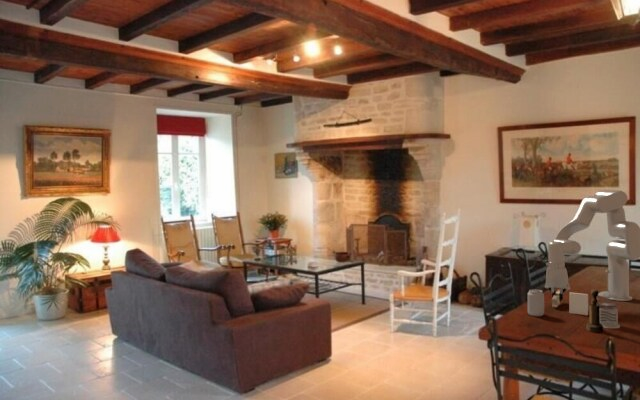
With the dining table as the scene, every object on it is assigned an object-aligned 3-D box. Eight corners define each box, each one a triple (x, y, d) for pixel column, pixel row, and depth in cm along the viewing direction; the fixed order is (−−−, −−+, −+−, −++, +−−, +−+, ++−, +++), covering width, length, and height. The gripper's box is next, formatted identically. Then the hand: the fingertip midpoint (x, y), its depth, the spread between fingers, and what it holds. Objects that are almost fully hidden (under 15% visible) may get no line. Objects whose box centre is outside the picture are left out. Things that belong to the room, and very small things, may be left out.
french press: (620, 329, 221) (620, 272, 220) (590, 326, 227) (590, 270, 226) (620, 323, 229) (620, 269, 228) (591, 320, 236) (591, 267, 234)
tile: (570, 312, 250) (569, 292, 250) (588, 314, 246) (588, 294, 245) (569, 313, 249) (569, 292, 248) (587, 315, 244) (587, 294, 244)
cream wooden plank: (558, 297, 271) (558, 289, 270) (563, 297, 269) (562, 290, 269) (552, 306, 258) (551, 298, 257) (557, 307, 256) (556, 299, 256)
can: (545, 317, 243) (545, 292, 242) (529, 316, 244) (529, 292, 244) (542, 312, 250) (542, 288, 250) (526, 312, 252) (526, 288, 251)
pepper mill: (582, 328, 224) (582, 288, 223) (596, 327, 225) (596, 287, 224) (592, 332, 218) (592, 291, 217) (606, 332, 218) (606, 290, 217)
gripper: (538, 265, 264) (539, 300, 265) (572, 267, 255) (573, 303, 256) (541, 263, 270) (542, 297, 271) (575, 265, 261) (575, 300, 262)
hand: (557, 300), depth 263 cm, fingers closed on cream wooden plank, 2 cm apart
